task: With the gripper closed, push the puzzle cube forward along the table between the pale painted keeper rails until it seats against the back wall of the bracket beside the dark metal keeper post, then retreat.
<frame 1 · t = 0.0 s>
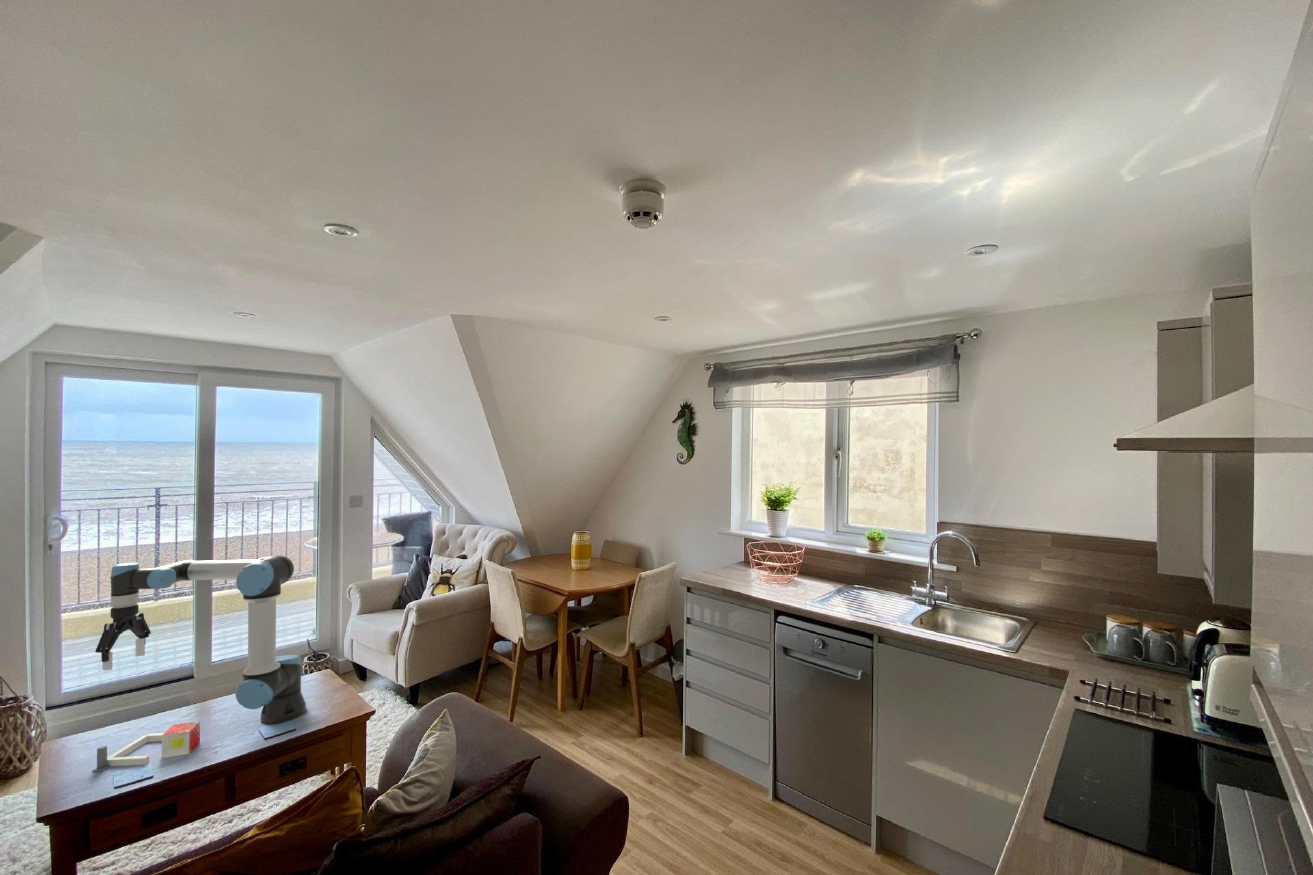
hand: (124, 662, 203), 28 cm above the table, fingers open, 13 cm apart
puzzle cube: (181, 750, 194), on the table
keeper bracket: (148, 751, 193), on the table
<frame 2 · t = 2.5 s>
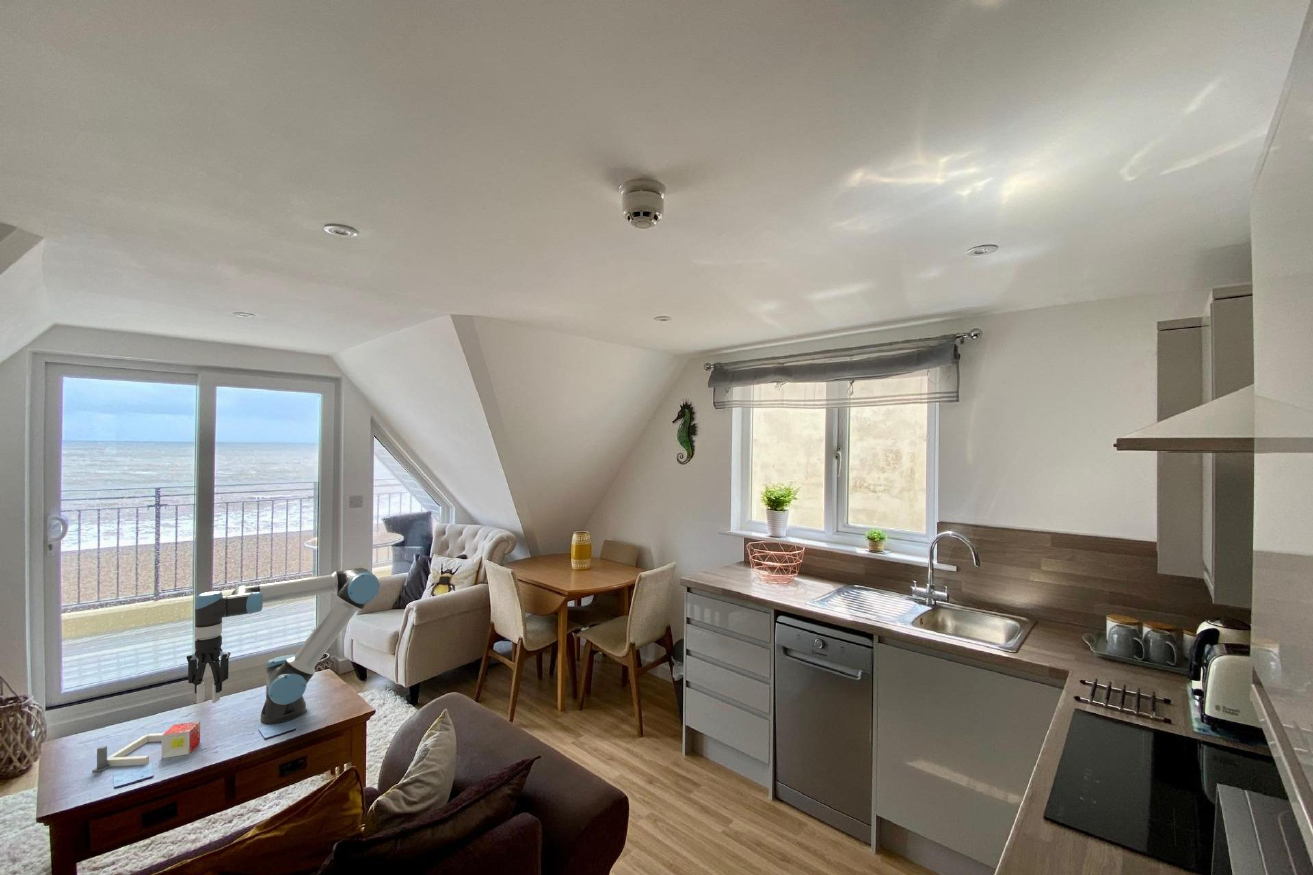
hand: (208, 701, 195), 17 cm above the table, fingers open, 4 cm apart
nothing on the table moved.
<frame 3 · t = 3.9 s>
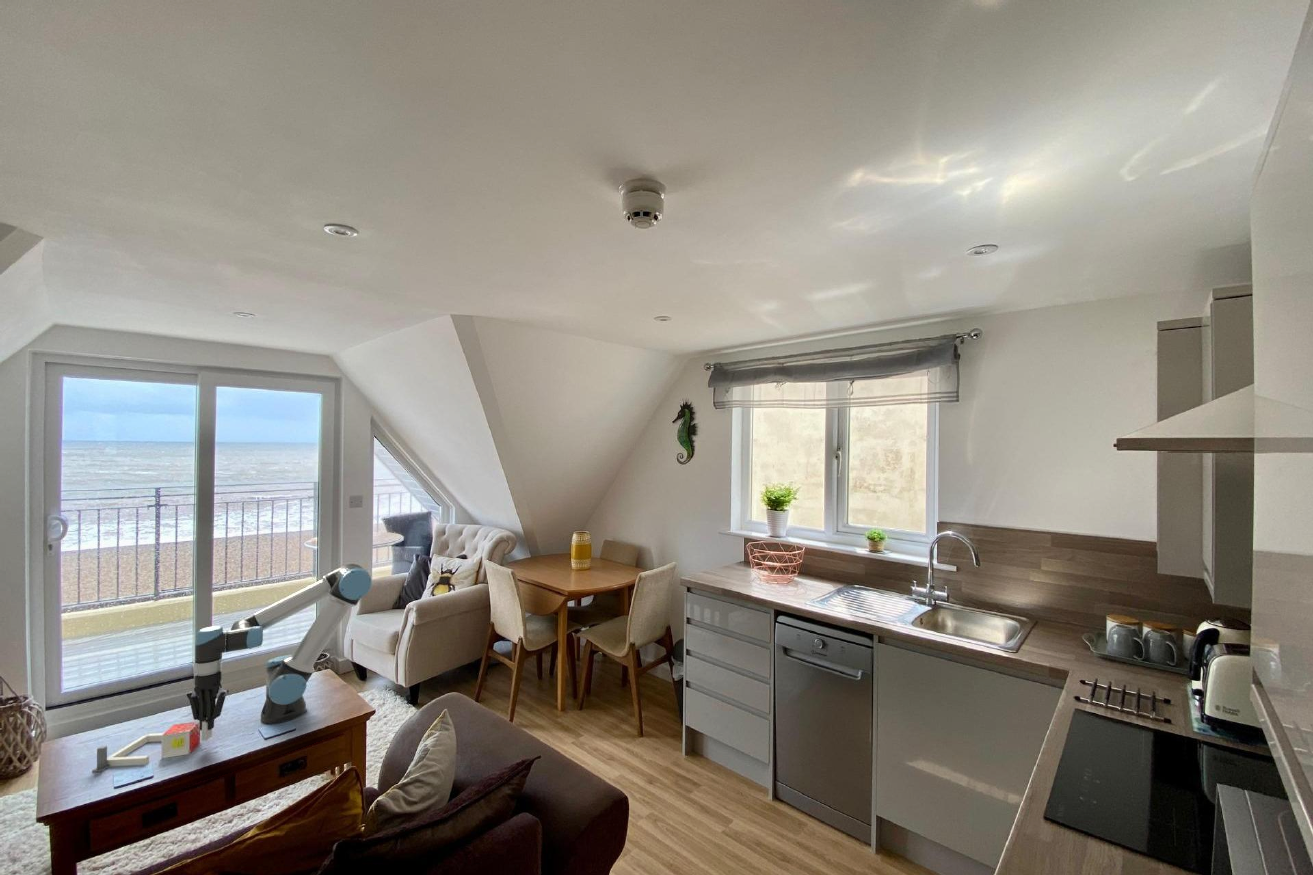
hand: (206, 738, 195), 4 cm above the table, fingers closed
nothing on the table moved.
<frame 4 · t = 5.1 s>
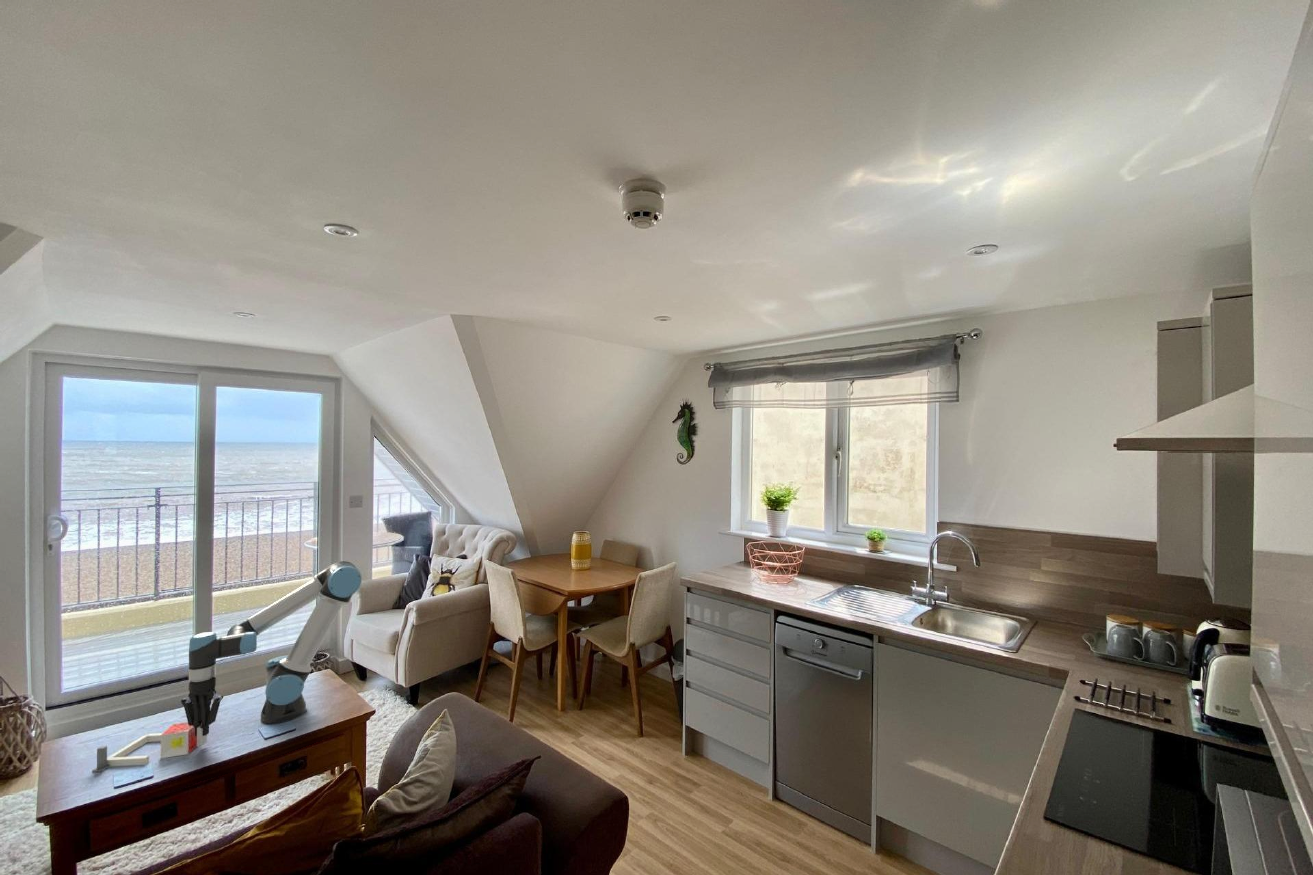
hand: (201, 744, 195), 2 cm above the table, fingers closed
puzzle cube: (180, 750, 194), on the table, touching gripper
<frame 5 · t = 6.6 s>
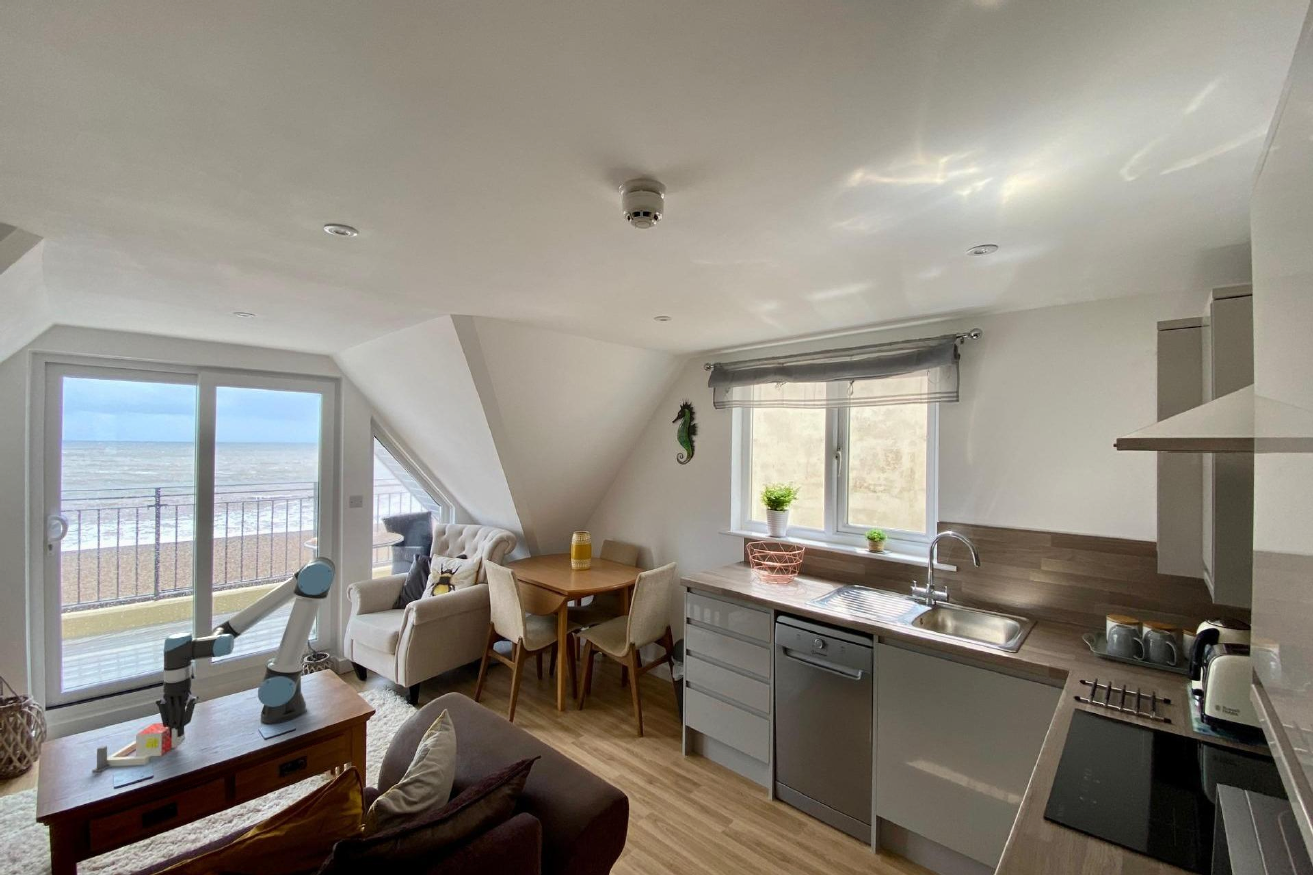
hand: (176, 745, 194), 2 cm above the table, fingers closed
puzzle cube: (157, 750, 194), on the table, touching gripper
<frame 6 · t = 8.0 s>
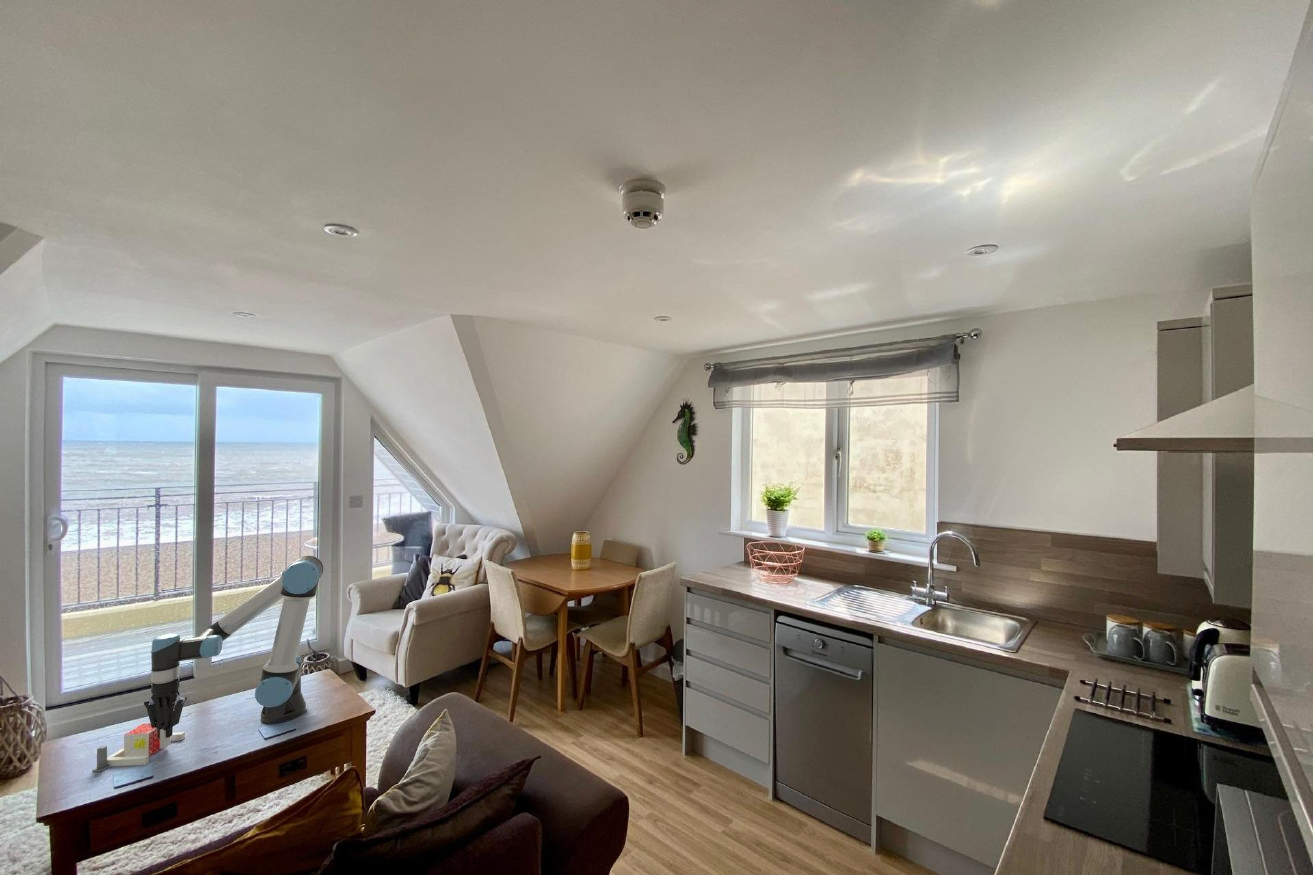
hand: (165, 746, 194), 2 cm above the table, fingers closed
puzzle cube: (145, 751, 194), on the table, touching gripper
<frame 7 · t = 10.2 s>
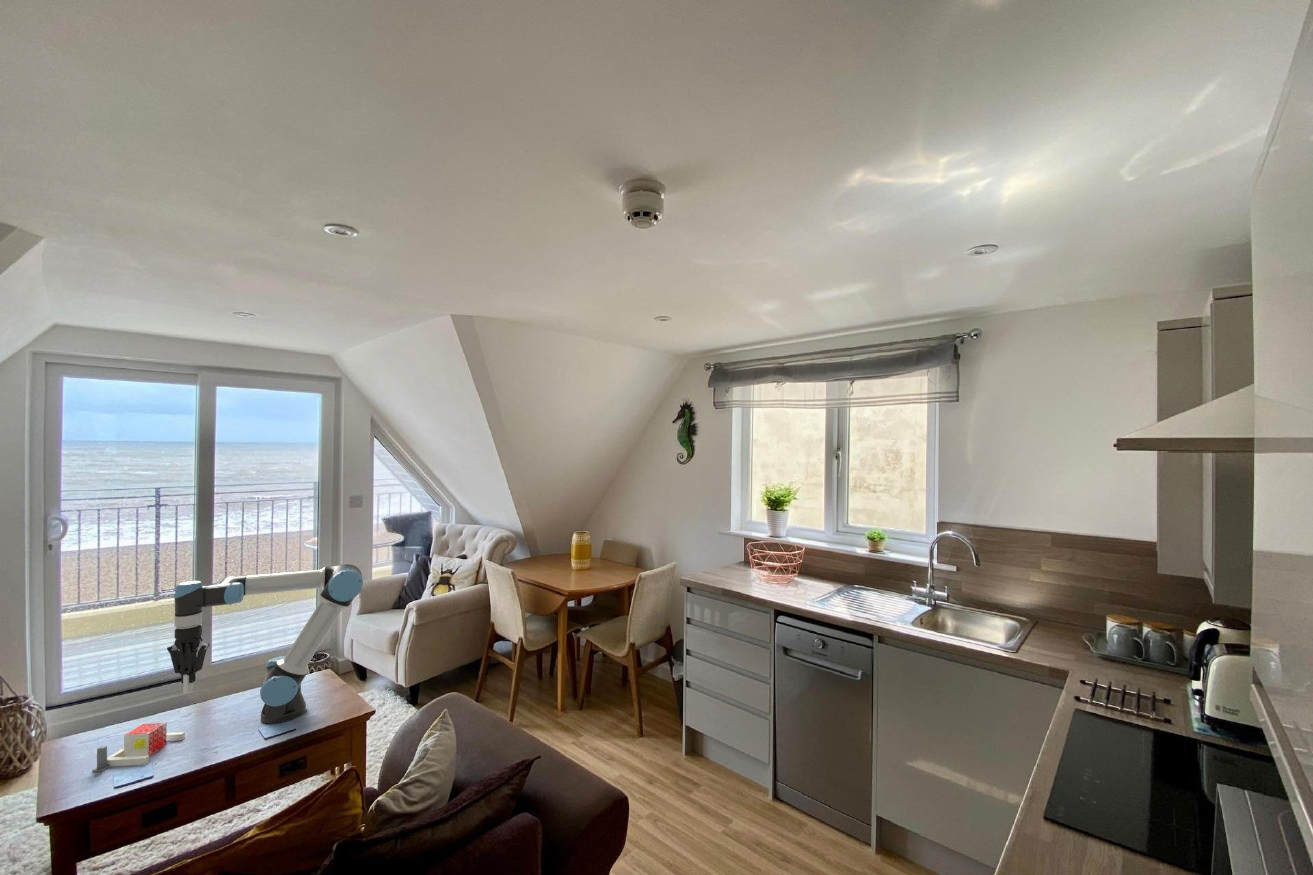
hand: (188, 691, 195), 20 cm above the table, fingers closed
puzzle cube: (145, 751, 194), on the table
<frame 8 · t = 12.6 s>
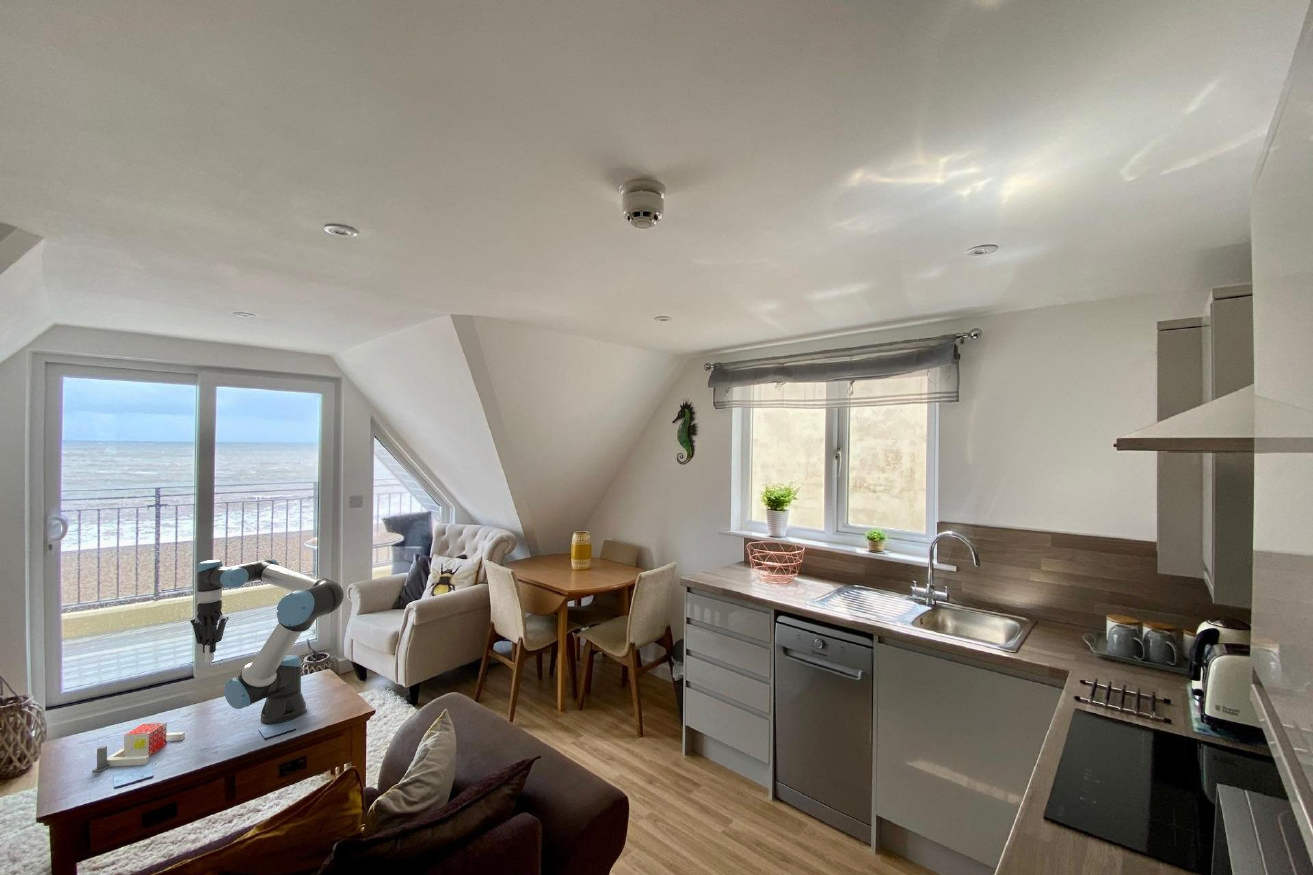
hand: (209, 660, 213), 24 cm above the table, fingers closed
nothing on the table moved.
at the end: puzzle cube inside the target area on the keeper bracket (1.4 cm from its centre), point 0.0 cm above the keeper bracket's base; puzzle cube moved 12.5 cm from its start; the gripper is holding nothing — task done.
